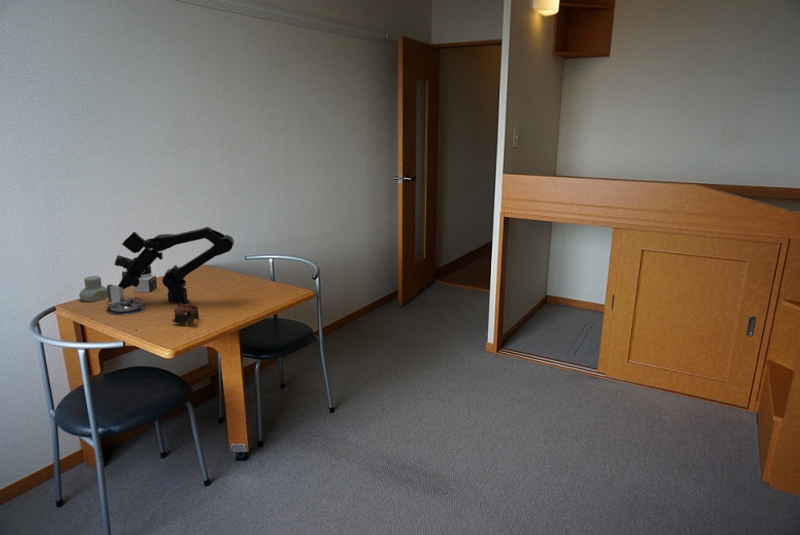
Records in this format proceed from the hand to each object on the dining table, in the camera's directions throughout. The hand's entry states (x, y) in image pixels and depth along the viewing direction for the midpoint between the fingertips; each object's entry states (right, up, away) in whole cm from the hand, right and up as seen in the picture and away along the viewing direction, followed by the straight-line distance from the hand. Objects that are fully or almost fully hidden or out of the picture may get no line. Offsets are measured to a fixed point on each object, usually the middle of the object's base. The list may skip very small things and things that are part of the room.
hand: (116, 290), depth 220 cm
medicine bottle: (+1, -2, +22) cm, 23 cm away
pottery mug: (+32, -12, -12) cm, 36 cm away
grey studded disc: (+3, -6, -1) cm, 7 cm away
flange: (+5, -8, -2) cm, 10 cm away
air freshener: (-14, -5, +10) cm, 18 cm away
